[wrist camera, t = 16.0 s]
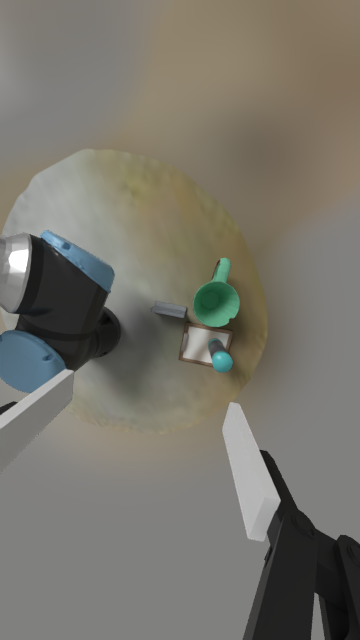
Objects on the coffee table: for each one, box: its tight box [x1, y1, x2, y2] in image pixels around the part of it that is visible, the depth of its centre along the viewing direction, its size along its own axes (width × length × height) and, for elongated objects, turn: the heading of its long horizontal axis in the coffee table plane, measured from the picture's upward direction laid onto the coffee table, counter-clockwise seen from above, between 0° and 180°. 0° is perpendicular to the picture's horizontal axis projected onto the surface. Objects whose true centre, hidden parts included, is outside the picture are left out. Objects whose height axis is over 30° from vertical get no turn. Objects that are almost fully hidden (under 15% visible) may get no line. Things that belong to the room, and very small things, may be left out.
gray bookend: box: [151, 301, 186, 318], centre depth 45 cm, size 8×3×6 cm, turn 79°
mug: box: [193, 258, 240, 327], centre depth 42 cm, size 15×10×10 cm
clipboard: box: [179, 322, 233, 366], centre depth 49 cm, size 13×11×1 cm
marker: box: [208, 338, 233, 372], centre depth 43 cm, size 4×4×11 cm
